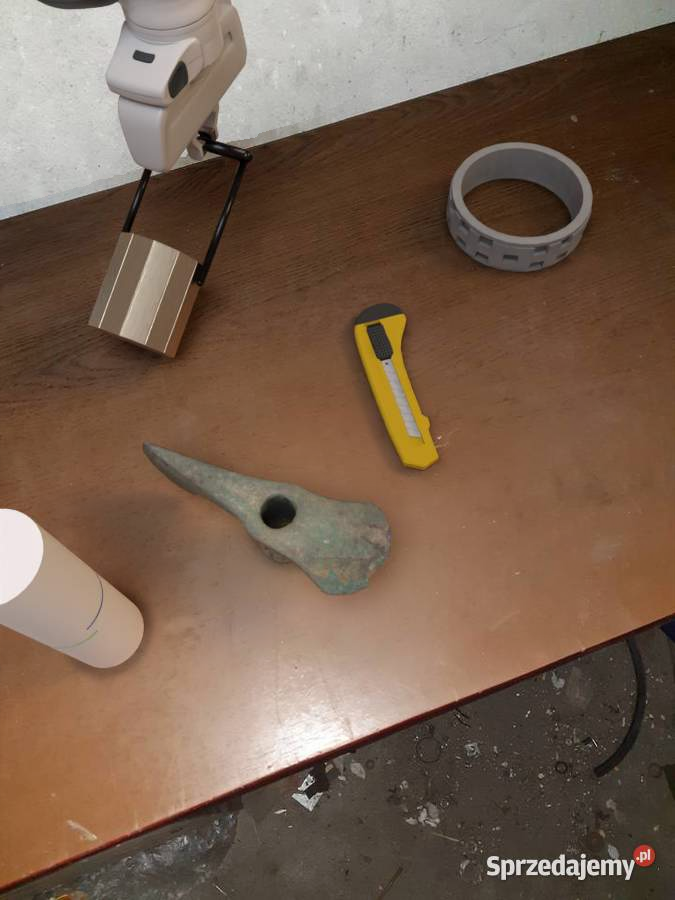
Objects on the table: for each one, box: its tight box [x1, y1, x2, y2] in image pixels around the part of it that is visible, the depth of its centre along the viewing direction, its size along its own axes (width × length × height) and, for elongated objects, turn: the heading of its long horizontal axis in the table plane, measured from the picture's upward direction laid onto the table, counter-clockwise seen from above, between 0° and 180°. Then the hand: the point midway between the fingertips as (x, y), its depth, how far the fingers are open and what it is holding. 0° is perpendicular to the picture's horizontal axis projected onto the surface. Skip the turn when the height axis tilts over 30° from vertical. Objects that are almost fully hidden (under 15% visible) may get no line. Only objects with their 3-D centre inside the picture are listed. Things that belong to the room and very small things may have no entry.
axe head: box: [142, 442, 392, 596], centre depth 69 cm, size 27×10×10 cm, turn 63°
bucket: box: [87, 135, 253, 359], centre depth 80 cm, size 25×12×10 cm, turn 157°
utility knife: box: [354, 302, 439, 471], centre depth 81 cm, size 7×22×2 cm, turn 16°
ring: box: [445, 141, 594, 273], centre depth 90 cm, size 18×18×5 cm
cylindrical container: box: [0, 508, 145, 669], centre depth 59 cm, size 7×7×25 cm
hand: (204, 148), depth 80 cm, fingers closed on bucket
